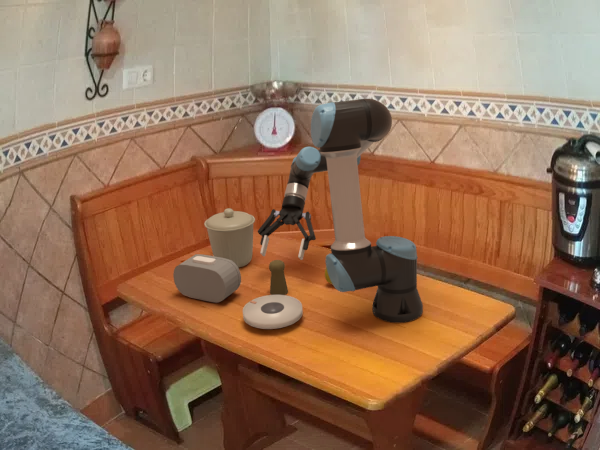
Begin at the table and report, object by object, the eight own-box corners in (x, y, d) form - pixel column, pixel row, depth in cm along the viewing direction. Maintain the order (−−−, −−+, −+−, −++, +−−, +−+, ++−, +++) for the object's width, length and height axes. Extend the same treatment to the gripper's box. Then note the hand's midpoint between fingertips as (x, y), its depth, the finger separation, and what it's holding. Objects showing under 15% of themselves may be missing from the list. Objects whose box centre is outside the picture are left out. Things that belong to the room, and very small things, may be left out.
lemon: (338, 280, 229) (337, 258, 226) (344, 286, 224) (343, 264, 221) (322, 283, 228) (321, 261, 225) (328, 289, 223) (327, 267, 220)
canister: (209, 255, 256) (203, 203, 248) (257, 251, 257) (252, 198, 250) (208, 275, 239) (202, 219, 231) (260, 270, 240) (255, 214, 233)
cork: (285, 296, 220) (283, 265, 216) (267, 295, 221) (265, 265, 217) (289, 288, 226) (287, 257, 222) (272, 287, 227) (269, 257, 223)
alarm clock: (243, 294, 224) (239, 257, 219) (227, 307, 216) (223, 268, 211) (193, 284, 233) (188, 248, 228) (176, 296, 225) (170, 259, 221)
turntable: (314, 308, 207) (313, 301, 206) (278, 334, 193) (278, 327, 193) (267, 295, 217) (267, 289, 216) (231, 319, 204) (230, 312, 203)
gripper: (331, 206, 232) (319, 264, 224) (265, 201, 240) (251, 257, 233) (326, 196, 225) (313, 255, 218) (257, 192, 234) (243, 249, 226)
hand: (281, 256), depth 225 cm, fingers open, 13 cm apart
